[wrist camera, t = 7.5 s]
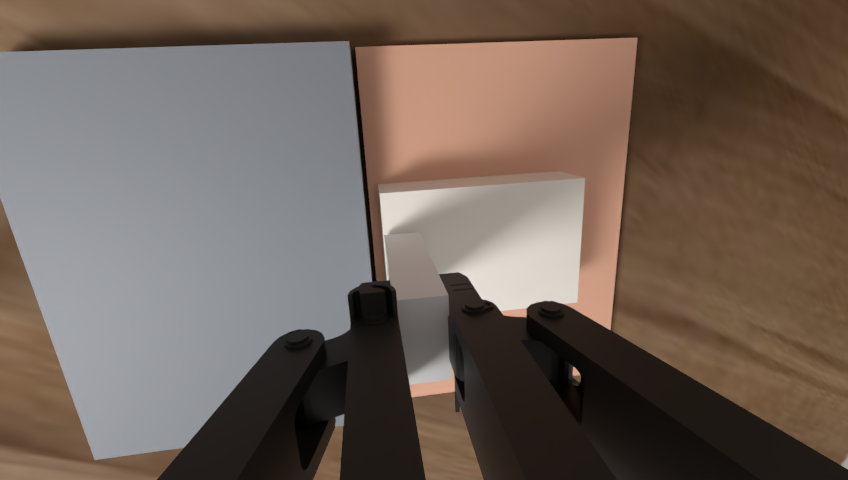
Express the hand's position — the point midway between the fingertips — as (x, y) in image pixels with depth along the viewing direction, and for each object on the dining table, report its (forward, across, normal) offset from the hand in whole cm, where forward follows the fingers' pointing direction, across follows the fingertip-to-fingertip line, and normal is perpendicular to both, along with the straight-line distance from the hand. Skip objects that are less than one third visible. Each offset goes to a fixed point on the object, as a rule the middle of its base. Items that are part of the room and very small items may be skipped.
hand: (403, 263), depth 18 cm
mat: (+3, +5, 0) cm, 6 cm away
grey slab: (+3, -8, 0) cm, 9 cm away
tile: (+3, +4, 0) cm, 5 cm away
